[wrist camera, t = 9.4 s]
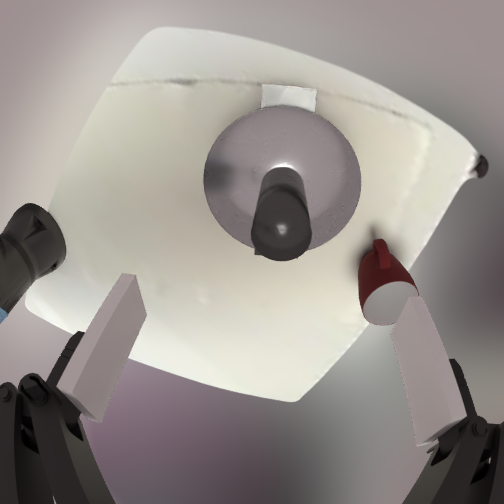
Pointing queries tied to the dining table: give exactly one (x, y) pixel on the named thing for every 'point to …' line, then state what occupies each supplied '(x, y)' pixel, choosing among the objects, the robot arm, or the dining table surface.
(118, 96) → the dining table surface
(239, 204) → the lid
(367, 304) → the mug
